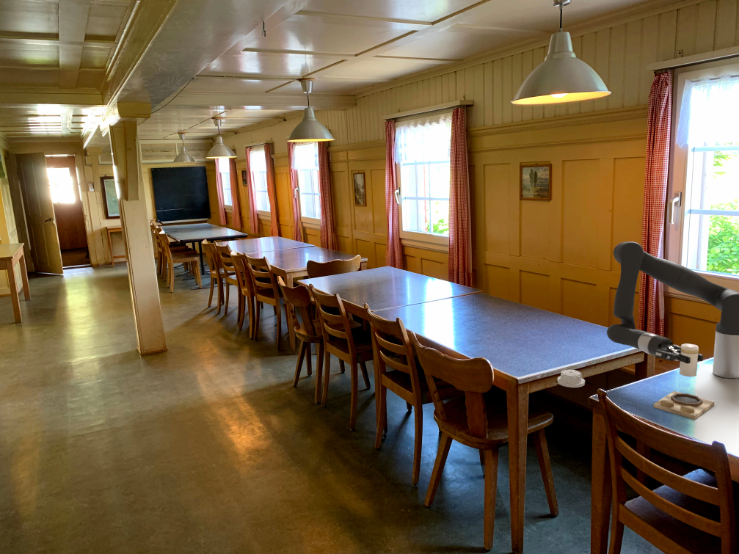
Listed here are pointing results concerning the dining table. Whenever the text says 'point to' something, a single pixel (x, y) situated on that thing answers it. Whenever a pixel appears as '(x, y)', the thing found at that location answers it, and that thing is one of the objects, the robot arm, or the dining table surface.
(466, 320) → the dining table surface
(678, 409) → the board
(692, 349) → the cylinder
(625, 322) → the robot arm
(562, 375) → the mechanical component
